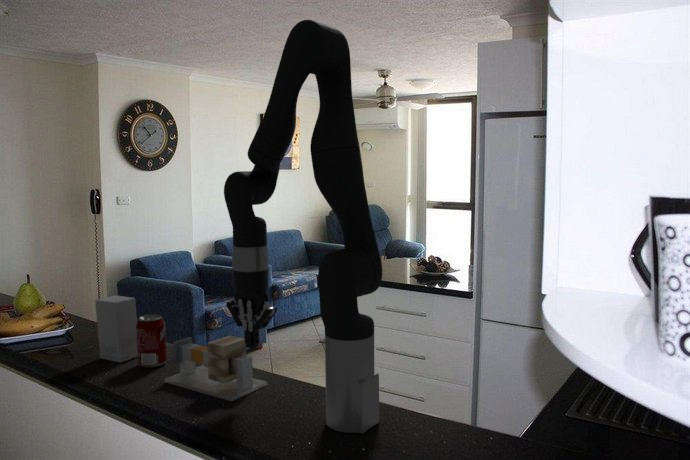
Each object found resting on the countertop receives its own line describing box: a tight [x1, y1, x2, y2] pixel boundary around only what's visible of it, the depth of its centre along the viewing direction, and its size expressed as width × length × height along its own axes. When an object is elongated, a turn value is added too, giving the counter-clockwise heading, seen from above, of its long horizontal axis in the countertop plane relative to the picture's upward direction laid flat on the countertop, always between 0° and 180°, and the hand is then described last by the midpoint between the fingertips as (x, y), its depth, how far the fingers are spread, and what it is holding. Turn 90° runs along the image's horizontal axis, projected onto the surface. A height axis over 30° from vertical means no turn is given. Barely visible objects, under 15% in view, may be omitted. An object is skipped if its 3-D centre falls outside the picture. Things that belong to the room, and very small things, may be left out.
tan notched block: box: [206, 335, 247, 383], centre depth 131 cm, size 5×7×8 cm
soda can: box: [136, 314, 168, 369], centre depth 147 cm, size 7×7×12 cm
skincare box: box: [94, 294, 138, 364], centre depth 152 cm, size 8×7×16 cm
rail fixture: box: [164, 336, 268, 402], centre depth 134 cm, size 21×11×8 cm, turn 56°
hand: (251, 347), depth 127 cm, fingers closed
